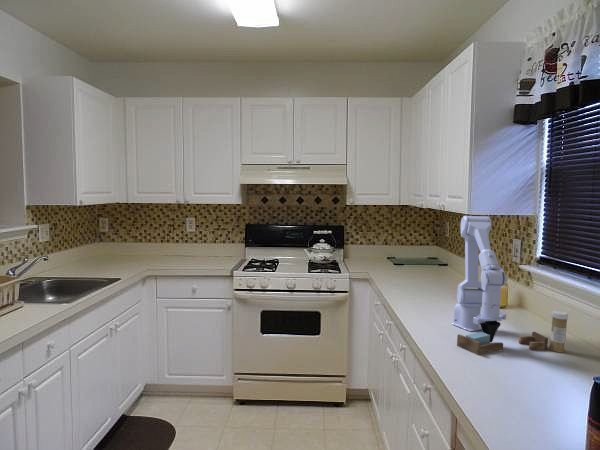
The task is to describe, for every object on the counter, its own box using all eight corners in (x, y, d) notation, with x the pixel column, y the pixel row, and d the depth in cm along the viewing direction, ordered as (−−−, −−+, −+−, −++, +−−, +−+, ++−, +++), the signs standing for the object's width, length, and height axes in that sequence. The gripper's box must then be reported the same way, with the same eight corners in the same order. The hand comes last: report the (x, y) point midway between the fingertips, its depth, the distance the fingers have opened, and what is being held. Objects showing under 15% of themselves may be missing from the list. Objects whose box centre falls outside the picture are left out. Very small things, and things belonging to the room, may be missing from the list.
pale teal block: (464, 347, 143) (465, 335, 143) (480, 344, 147) (481, 331, 146) (473, 351, 140) (474, 338, 140) (489, 347, 144) (490, 335, 143)
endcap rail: (454, 344, 146) (454, 333, 145) (476, 339, 151) (477, 328, 151) (480, 356, 136) (481, 344, 136) (503, 350, 141) (504, 339, 141)
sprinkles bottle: (551, 346, 146) (554, 309, 145) (566, 350, 143) (569, 312, 142) (547, 350, 143) (551, 311, 141) (563, 353, 140) (566, 314, 138)
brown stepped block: (530, 350, 142) (531, 338, 142) (518, 343, 149) (519, 332, 148) (547, 349, 143) (547, 338, 143) (534, 342, 150) (534, 331, 149)
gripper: (486, 309, 138) (483, 348, 139) (515, 304, 144) (512, 342, 146) (469, 303, 144) (466, 341, 145) (497, 299, 151) (494, 335, 152)
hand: (488, 341), depth 146 cm, fingers closed
